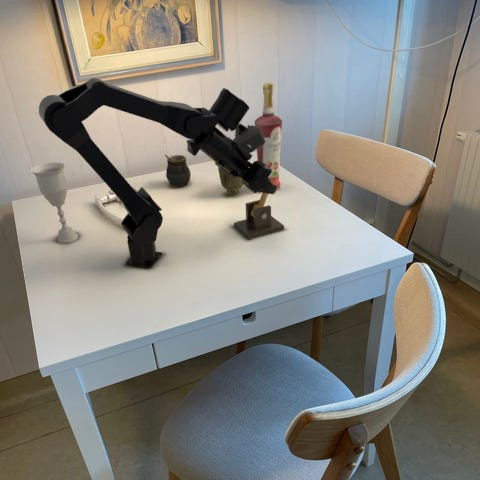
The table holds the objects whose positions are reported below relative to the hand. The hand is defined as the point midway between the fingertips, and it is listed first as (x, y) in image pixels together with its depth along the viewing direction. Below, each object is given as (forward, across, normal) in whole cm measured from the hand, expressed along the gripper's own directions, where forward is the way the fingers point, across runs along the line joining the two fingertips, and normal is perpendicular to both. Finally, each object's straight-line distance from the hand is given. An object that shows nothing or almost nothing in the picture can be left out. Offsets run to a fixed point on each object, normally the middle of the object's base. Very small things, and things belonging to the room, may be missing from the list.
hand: (264, 185), depth 117 cm
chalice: (-24, +20, +40) cm, 51 cm away
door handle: (-13, +27, +28) cm, 41 cm away
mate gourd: (+2, +38, +14) cm, 40 cm away
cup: (+9, +23, +6) cm, 25 cm away
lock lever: (+1, 0, +3) cm, 3 cm away
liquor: (+17, +20, -1) cm, 26 cm away
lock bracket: (+6, 0, +9) cm, 11 cm away
